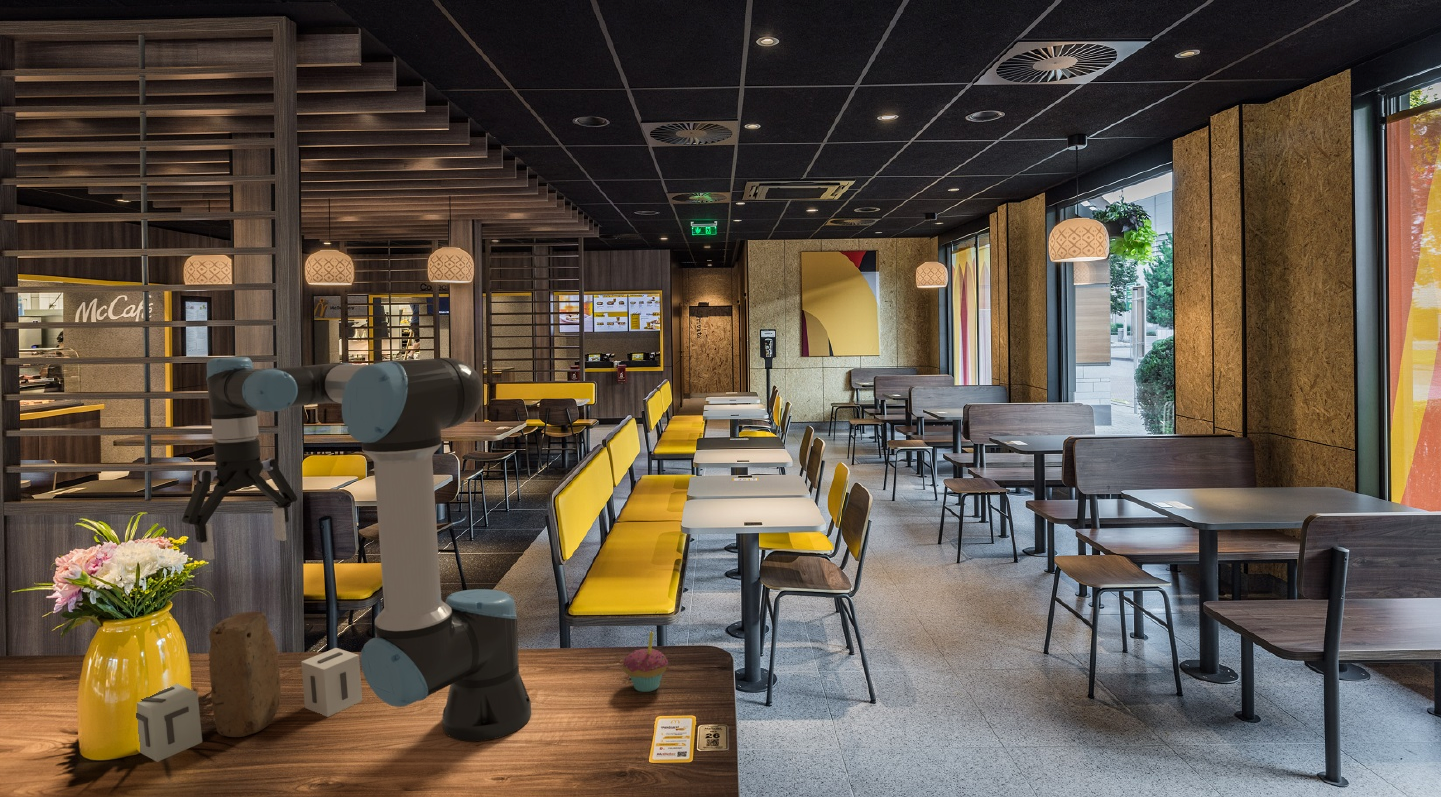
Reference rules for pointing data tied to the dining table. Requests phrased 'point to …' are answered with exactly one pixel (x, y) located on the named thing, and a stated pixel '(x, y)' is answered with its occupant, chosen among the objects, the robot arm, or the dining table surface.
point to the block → (243, 674)
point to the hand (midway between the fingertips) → (246, 548)
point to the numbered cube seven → (168, 722)
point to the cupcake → (645, 667)
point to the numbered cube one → (331, 681)
